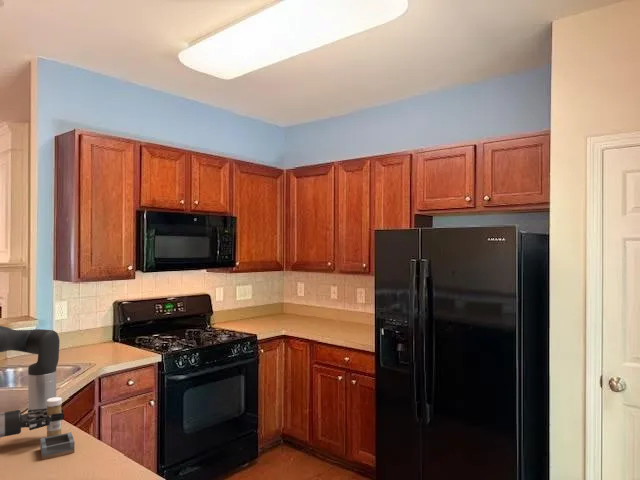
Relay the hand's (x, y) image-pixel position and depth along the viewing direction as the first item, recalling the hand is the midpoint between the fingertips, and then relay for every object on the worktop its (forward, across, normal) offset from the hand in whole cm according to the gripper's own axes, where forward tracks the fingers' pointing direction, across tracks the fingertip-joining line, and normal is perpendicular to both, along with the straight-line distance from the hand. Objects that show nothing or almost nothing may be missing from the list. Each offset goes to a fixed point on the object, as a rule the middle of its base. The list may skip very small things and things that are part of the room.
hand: (63, 413), depth 162 cm
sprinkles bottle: (-3, 0, +8) cm, 8 cm away
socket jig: (-3, -12, +8) cm, 14 cm away
